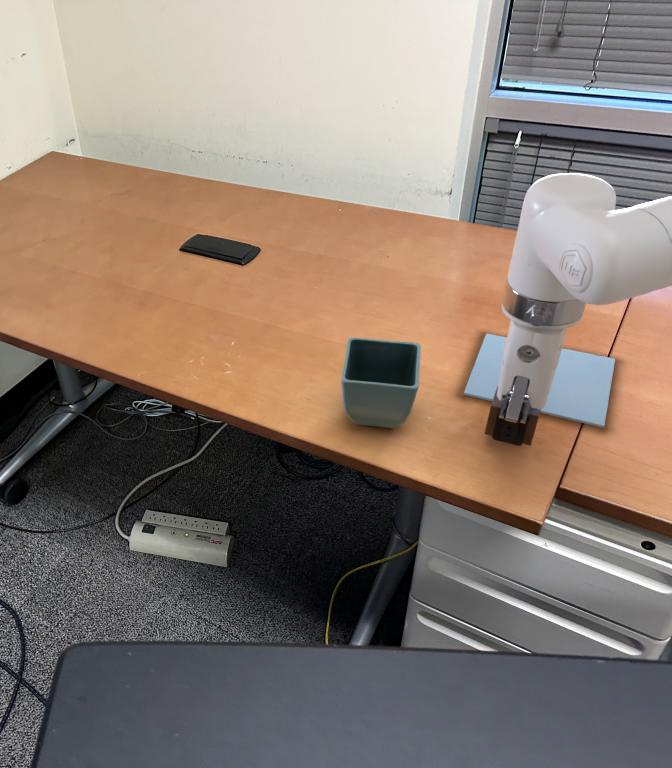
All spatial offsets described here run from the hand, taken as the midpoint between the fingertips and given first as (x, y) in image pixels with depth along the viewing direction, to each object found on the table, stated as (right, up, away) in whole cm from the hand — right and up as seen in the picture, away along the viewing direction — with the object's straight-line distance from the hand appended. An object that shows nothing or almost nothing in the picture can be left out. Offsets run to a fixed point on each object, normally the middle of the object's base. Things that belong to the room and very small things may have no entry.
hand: (510, 427), depth 82 cm
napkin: (+8, +6, +9) cm, 14 cm away
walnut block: (0, 0, 0) cm, 0 cm away
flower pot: (-14, +1, +8) cm, 16 cm away
